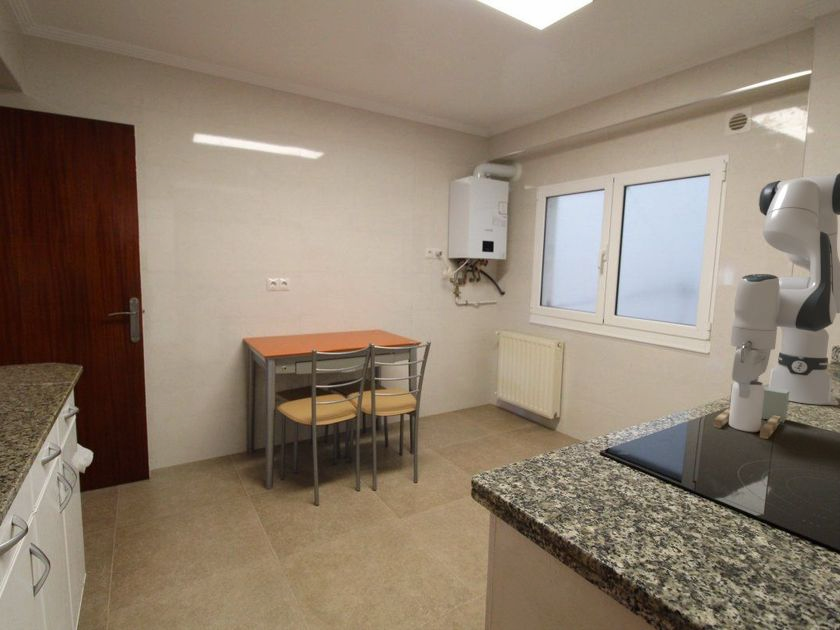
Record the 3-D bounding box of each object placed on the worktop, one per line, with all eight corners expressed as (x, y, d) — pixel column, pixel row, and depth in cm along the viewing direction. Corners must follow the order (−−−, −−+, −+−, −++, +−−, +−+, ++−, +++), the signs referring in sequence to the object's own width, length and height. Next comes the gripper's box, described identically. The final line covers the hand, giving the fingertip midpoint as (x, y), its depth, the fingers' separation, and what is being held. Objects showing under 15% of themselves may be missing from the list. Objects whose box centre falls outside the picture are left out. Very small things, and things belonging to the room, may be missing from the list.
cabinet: (733, 408, 129) (735, 381, 128) (786, 419, 120) (789, 390, 119) (729, 412, 125) (731, 384, 125) (783, 423, 117) (786, 393, 116)
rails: (729, 413, 124) (730, 406, 124) (779, 424, 116) (780, 416, 116) (713, 426, 112) (713, 418, 112) (767, 439, 104) (768, 431, 104)
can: (749, 424, 115) (754, 379, 114) (766, 433, 108) (771, 385, 107) (723, 423, 115) (727, 377, 114) (738, 432, 109) (743, 384, 108)
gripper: (760, 345, 100) (754, 405, 102) (776, 338, 114) (770, 391, 116) (727, 341, 105) (721, 399, 106) (746, 335, 119) (741, 386, 120)
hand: (747, 394), depth 111 cm, fingers closed on can, 6 cm apart
